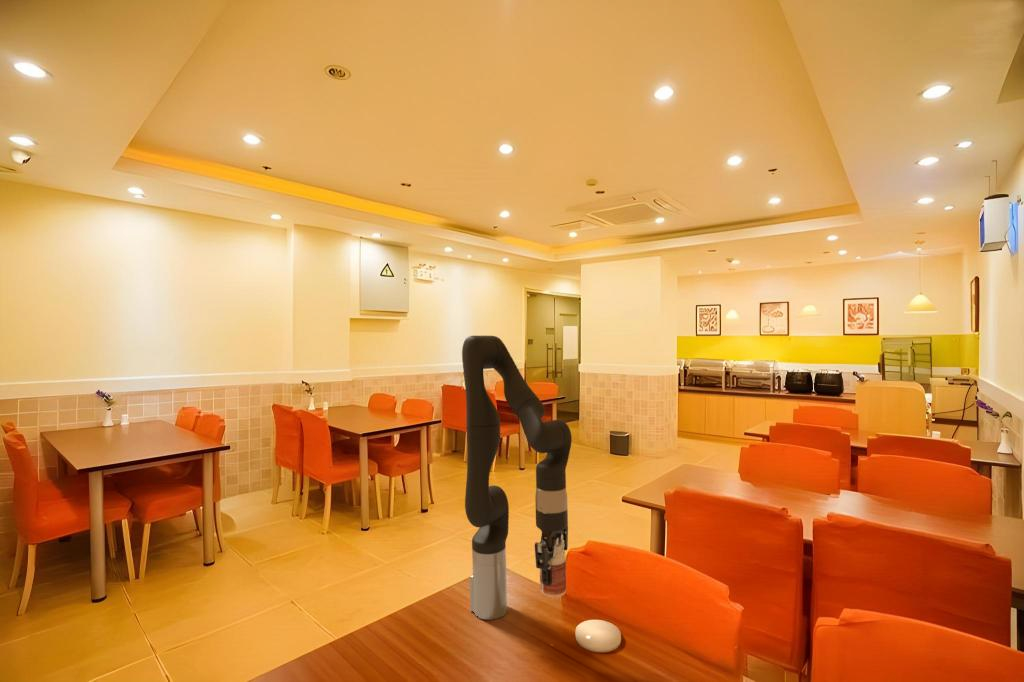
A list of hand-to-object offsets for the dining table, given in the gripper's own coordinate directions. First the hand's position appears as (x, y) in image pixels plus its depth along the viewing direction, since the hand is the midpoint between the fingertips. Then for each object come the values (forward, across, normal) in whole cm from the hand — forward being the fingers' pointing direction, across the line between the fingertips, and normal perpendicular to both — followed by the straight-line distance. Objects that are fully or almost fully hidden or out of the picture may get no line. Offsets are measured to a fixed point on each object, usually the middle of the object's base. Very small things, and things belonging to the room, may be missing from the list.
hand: (553, 577), depth 109 cm
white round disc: (+17, -10, +7) cm, 21 cm away
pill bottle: (+3, 0, 0) cm, 3 cm away
